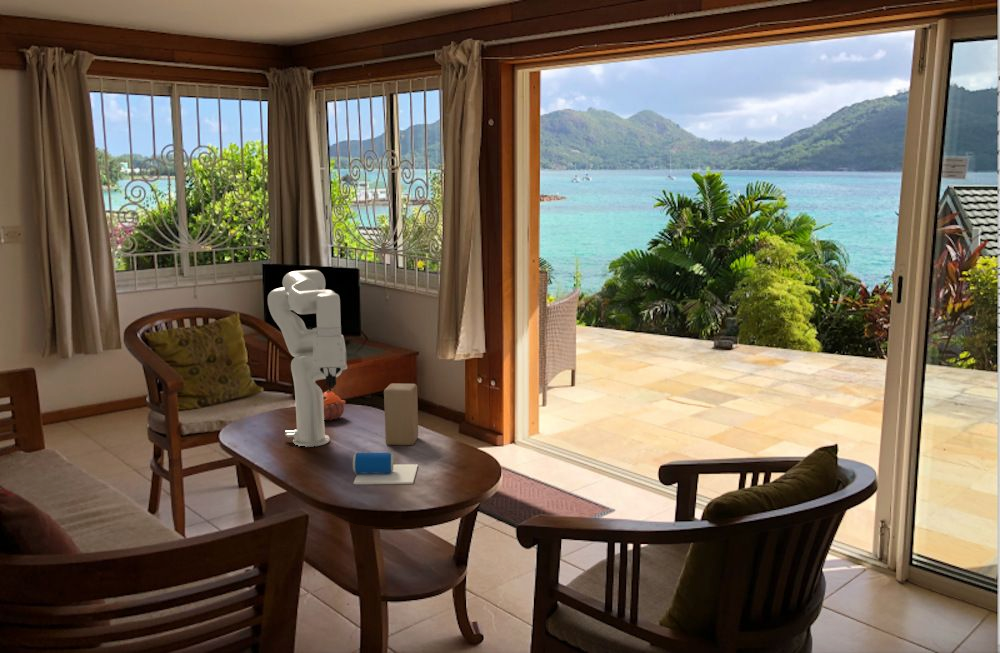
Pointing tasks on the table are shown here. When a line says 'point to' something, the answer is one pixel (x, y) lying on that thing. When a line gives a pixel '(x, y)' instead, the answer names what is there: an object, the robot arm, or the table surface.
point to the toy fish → (332, 406)
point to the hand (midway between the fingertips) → (331, 387)
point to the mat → (390, 476)
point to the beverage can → (373, 463)
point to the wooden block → (401, 414)
